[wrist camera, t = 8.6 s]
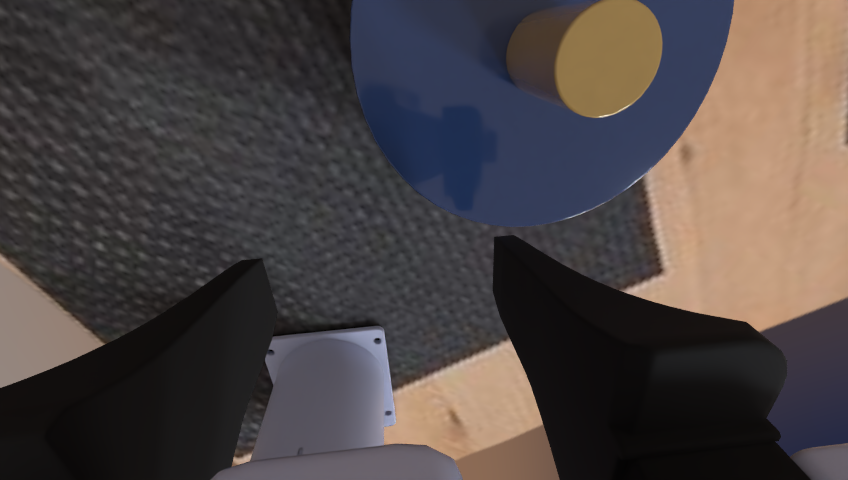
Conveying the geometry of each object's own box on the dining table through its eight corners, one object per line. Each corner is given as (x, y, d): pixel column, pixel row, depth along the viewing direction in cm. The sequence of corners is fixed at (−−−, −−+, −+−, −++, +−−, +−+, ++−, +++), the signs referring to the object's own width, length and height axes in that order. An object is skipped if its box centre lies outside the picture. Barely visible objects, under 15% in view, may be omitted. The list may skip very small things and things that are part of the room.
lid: (664, 201, 17) (771, 265, 13) (374, 228, 17) (371, 306, 12) (761, -204, 11) (1031, -375, 7) (321, -188, 11) (272, -365, 6)
